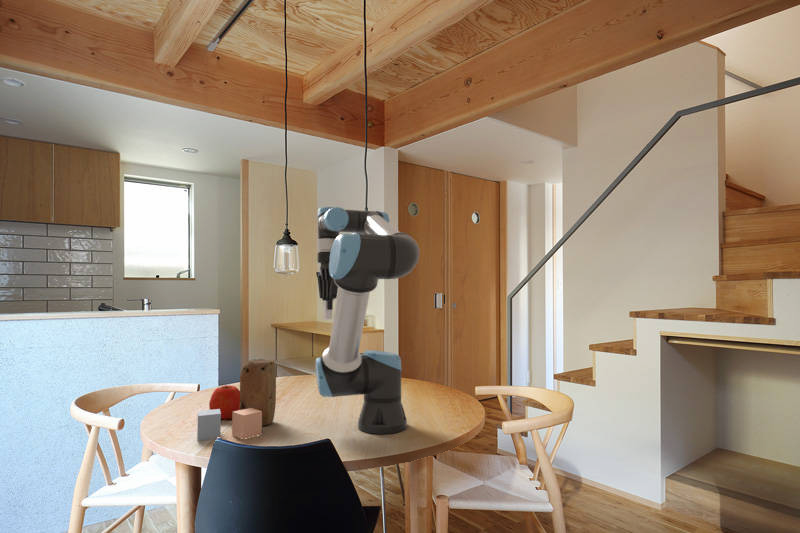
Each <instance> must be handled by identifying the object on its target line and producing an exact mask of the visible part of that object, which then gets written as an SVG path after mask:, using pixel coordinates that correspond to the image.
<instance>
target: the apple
mask: <svg viewBox="0 0 800 533" xmlns="http://www.w3.org/2000/svg"><path fill="white" fill-rule="evenodd" d="M208 406H209V409H208V410H213V409H220V412H221V420H230V419H231V420H232V412H234V411H238V410H240V408H239V407H240V388H239V387H237V386H233V385H222V386H219V387H216V388H215V389H214V391H213V392H212V394H211V396H210V400H209V404H208Z"/></svg>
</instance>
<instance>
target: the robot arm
mask: <svg viewBox="0 0 800 533" xmlns="http://www.w3.org/2000/svg"><path fill="white" fill-rule="evenodd" d="M316 218H317V251H318V252H317V264H318V263H319V264H320V268H319V271H316V278H317V284H318V294H319V299H321V300H322V301H323V306H322V307H323V312H322V314H323V317H322V318H323V320H332V325H331V326H332V327H331V333H330V338H329V339H330V340H329V346H328V347H327V348H326V349H324V351H323V353H322V357H321V356H319V357H317V358H316V359H315V376H316V384H317V388H318V393H319V395H320V396H322V397H324V398H336V397H337V398H339V397H347V396H360V395H363V404H362V408H361V410H360V414H359V417H358V419H357V422H358V423H357V428H358V430H360V431H362V432H364V433H368V434H375V435H387V434H396V433H400V432H403V431H405V430H406V429H407V427H408V420H407V415H406V413H405V409H404V406H403V402H402V370H403V369H402V360H401V357H400V355H399V354H396V353H395V352H389V351H382V350H370V349H369V350H367V349H366V350H365V351H363V355H362V354H361V353H360V352H359V350H360V344H361V340H362V334H363V330H364V324H365V321H366V320H365V318H366V315H367V309H368V303H369V298H370V293H371V292H373V291H375V290H376V288H377V287H378V283H379V280H396V279H400V278H403V277H405V276H407V275H408V274H410V273H411V272H412V271H413V270H414V269H415V268H416V266H417V264H418V262H419V259H420V247H419V244H418V243H417V241H416V240H415V238H413V237H412V236H411V235H409V234H408V233H406V232H400V230H398V229H397V228H395V226H393V225H392V224H391V223H390V217H389V214H388V213H387V212H385V211H379V210H374V211H373V210H356V209H355V210H354V209H344V208H342V207H338V206H335V207H334V206H323V207H319V209H318V210H317V216H316ZM340 233H341V234H340ZM334 300H335V304H334V307H333V303H334V302H333V301H334ZM333 308H334V313H333Z"/></svg>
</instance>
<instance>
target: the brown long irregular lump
mask: <svg viewBox="0 0 800 533" xmlns="http://www.w3.org/2000/svg"><path fill="white" fill-rule="evenodd" d="M276 365H277V364H276V361H275V360H274V359H265V358H258V359H251V360H248V361H247V362H246V363H245V364H244V365H243V366H242V370H241V373H240V377H239V379H240V380H239V391H240V407H239V408H240V410H243V409H248V408H253V409H256V410H260V411H262V427H263V426H268V425H270V424H271V423H272V424H273V422H274V420H275V411H276V403H277V402H276V400H277V367H276Z"/></svg>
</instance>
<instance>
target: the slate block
mask: <svg viewBox="0 0 800 533" xmlns="http://www.w3.org/2000/svg"><path fill="white" fill-rule="evenodd" d="M221 420H222V419H221V412H220V409H213V410H210V409H204V410H198V411H197V433H196V435H197V442H201V441H209V440H216V439H215V438H217V437H220V438H221V428H222V425H221V423H222V422H221Z"/></svg>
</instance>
